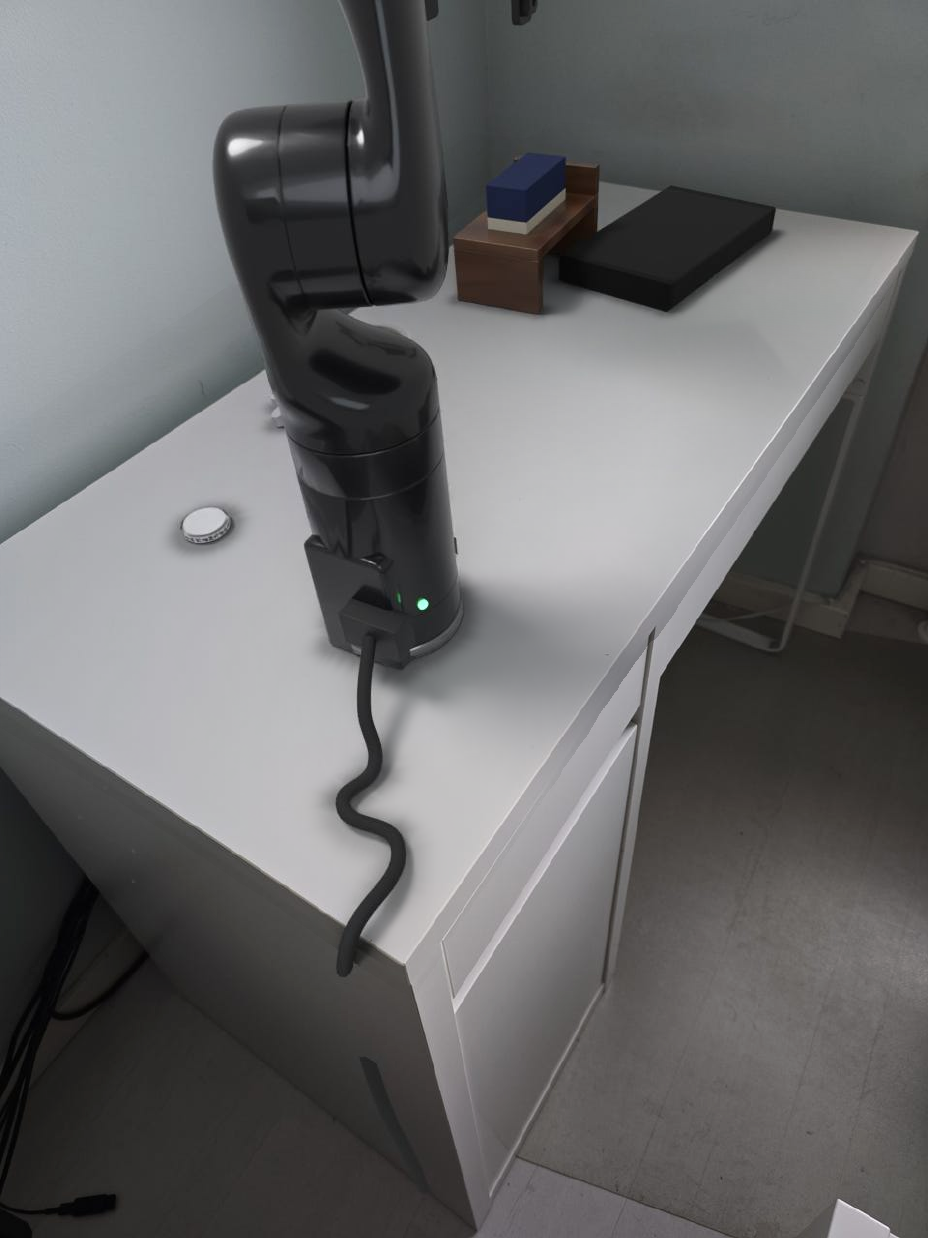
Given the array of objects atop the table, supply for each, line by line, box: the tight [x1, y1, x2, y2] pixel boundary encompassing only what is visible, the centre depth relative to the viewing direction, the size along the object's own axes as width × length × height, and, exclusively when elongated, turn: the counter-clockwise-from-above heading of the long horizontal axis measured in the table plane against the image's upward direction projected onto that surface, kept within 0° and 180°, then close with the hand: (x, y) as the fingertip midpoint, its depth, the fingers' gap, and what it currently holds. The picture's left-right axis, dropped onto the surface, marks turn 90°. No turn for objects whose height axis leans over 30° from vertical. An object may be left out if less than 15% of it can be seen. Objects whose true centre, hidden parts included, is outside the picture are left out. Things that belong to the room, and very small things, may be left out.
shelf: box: [452, 154, 601, 315], centre depth 97 cm, size 16×10×10 cm, turn 151°
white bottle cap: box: [179, 505, 232, 544], centre depth 72 cm, size 4×4×1 cm
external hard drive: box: [558, 185, 777, 313], centre depth 100 cm, size 14×23×3 cm, turn 139°
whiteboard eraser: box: [485, 152, 567, 235], centre depth 94 cm, size 10×5×4 cm, turn 151°
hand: (474, 20), depth 70 cm, fingers open, 8 cm apart
